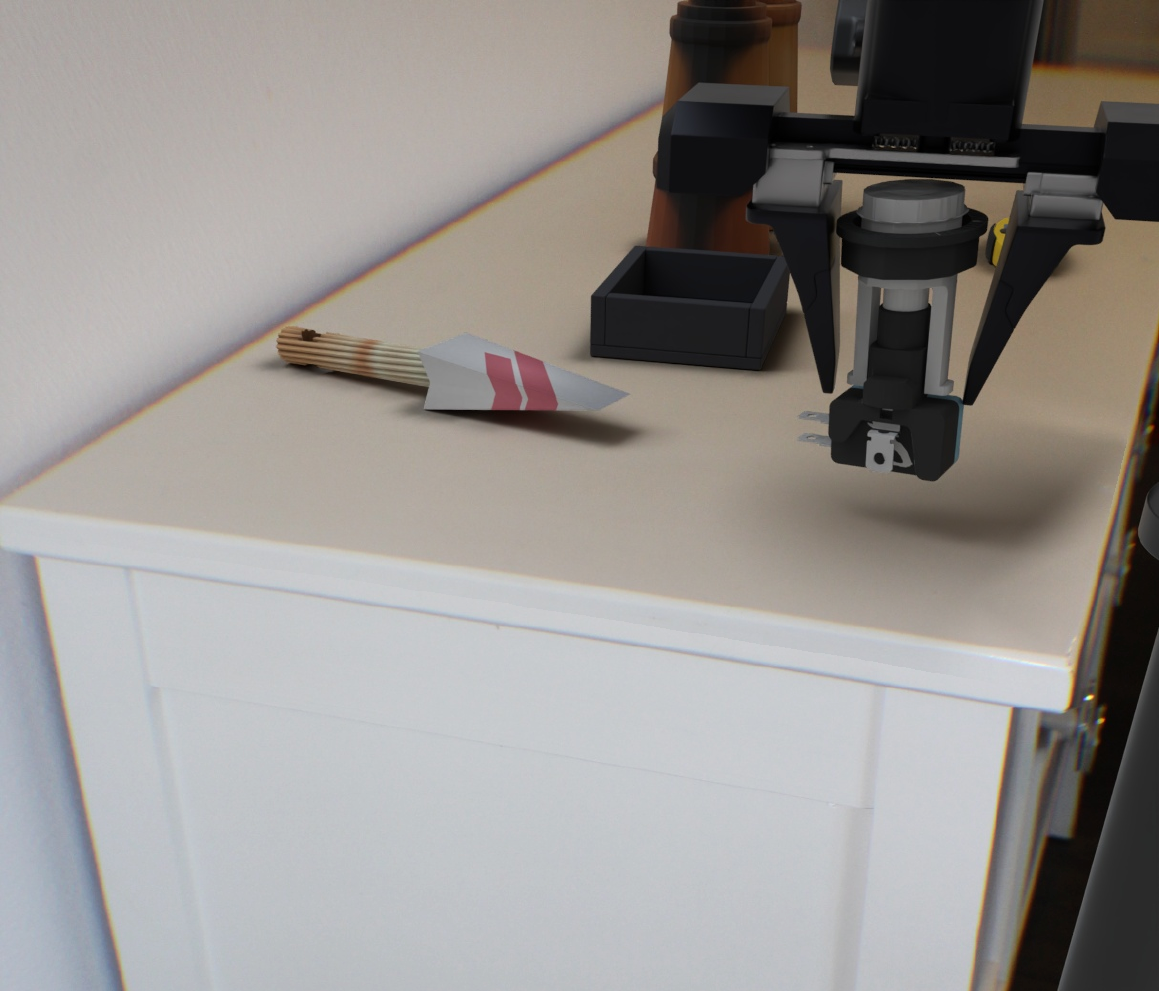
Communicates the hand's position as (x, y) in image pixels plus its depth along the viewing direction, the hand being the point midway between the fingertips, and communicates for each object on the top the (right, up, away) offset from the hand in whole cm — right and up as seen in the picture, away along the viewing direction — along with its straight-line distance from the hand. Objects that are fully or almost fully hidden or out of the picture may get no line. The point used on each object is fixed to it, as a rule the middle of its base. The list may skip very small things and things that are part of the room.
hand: (898, 396), depth 55 cm
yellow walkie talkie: (+17, +23, +41) cm, 50 cm away
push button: (0, -2, +2) cm, 3 cm away
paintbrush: (-19, +5, +15) cm, 25 cm away
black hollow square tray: (-6, +12, +24) cm, 27 cm away
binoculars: (-2, +25, +43) cm, 50 cm away
